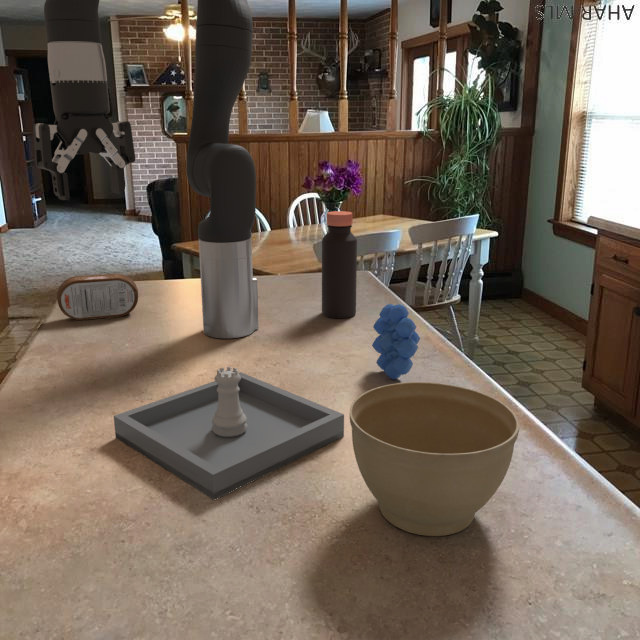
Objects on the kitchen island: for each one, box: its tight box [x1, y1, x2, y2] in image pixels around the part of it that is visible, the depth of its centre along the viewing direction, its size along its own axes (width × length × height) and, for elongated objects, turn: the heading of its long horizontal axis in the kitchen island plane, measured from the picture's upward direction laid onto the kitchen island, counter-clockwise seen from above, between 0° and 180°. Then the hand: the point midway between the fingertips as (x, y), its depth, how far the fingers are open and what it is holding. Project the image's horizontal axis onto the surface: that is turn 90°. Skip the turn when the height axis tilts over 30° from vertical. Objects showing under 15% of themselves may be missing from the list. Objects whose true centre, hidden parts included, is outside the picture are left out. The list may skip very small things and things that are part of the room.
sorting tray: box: [113, 371, 345, 501], centre depth 84 cm, size 20×20×3 cm
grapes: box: [371, 303, 421, 380], centre depth 101 cm, size 12×7×12 cm, turn 19°
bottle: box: [321, 210, 358, 319], centre depth 131 cm, size 7×7×20 cm
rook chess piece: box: [212, 366, 248, 438], centre depth 83 cm, size 4×4×8 cm
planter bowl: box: [349, 381, 520, 537], centre depth 67 cm, size 16×16×11 cm
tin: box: [56, 273, 139, 321], centre depth 131 cm, size 15×3×8 cm, turn 108°
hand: (91, 196), depth 99 cm, fingers open, 8 cm apart
